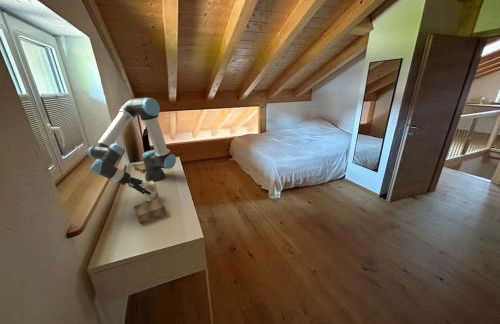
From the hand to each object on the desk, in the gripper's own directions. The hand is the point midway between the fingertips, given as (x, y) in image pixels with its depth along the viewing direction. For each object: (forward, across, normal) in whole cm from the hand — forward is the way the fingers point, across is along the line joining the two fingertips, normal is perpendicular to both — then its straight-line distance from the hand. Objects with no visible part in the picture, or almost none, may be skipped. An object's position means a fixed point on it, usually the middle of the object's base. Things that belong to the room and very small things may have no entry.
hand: (152, 191), depth 139 cm
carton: (+8, -63, -2) cm, 64 cm away
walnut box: (+1, +18, -8) cm, 20 cm away
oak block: (+4, 0, -5) cm, 6 cm away
